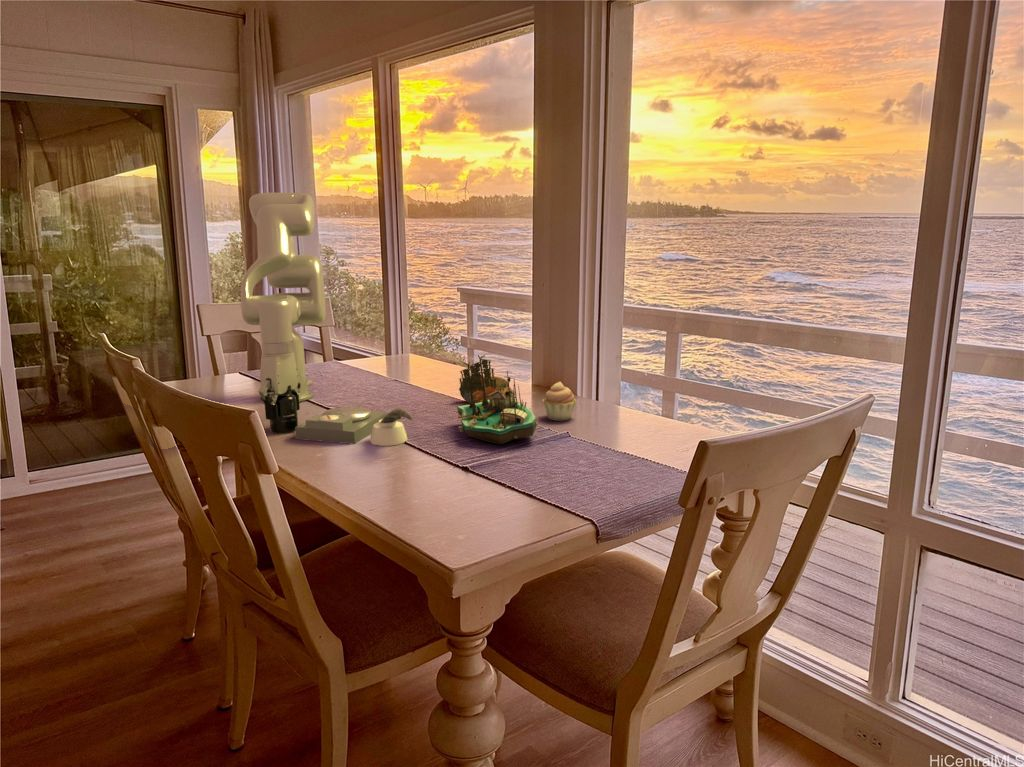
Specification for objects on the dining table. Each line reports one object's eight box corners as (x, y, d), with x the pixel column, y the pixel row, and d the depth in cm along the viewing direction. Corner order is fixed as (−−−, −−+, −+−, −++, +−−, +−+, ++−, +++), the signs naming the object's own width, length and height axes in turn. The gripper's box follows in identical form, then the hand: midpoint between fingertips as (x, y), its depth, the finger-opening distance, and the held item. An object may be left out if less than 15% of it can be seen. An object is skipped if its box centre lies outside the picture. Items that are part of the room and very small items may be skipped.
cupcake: (583, 417, 194) (584, 381, 191) (561, 424, 187) (562, 387, 185) (557, 411, 200) (557, 376, 198) (534, 418, 193) (534, 382, 191)
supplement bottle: (290, 434, 181) (286, 388, 178) (265, 433, 182) (261, 387, 179) (303, 427, 187) (299, 382, 184) (279, 425, 189) (275, 381, 186)
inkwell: (396, 432, 182) (395, 394, 179) (433, 450, 168) (432, 409, 165) (363, 439, 176) (360, 400, 174) (398, 458, 162) (396, 415, 160)
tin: (459, 402, 211) (459, 374, 209) (464, 400, 213) (463, 372, 212) (507, 407, 205) (507, 378, 203) (511, 404, 208) (511, 376, 206)
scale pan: (337, 408, 192) (337, 405, 192) (378, 411, 189) (378, 407, 189) (314, 420, 181) (313, 416, 181) (357, 424, 178) (357, 420, 178)
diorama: (504, 414, 195) (497, 346, 190) (553, 439, 174) (546, 363, 168) (440, 431, 187) (431, 360, 182) (483, 460, 166) (474, 380, 160)
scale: (332, 419, 194) (331, 399, 193) (387, 423, 190) (386, 403, 189) (296, 438, 177) (294, 417, 176) (354, 443, 173) (353, 421, 172)
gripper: (284, 342, 189) (289, 405, 193) (243, 353, 173) (249, 422, 176) (309, 343, 187) (314, 407, 191) (270, 354, 171) (276, 424, 174)
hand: (283, 414), depth 183 cm, fingers open, 9 cm apart
